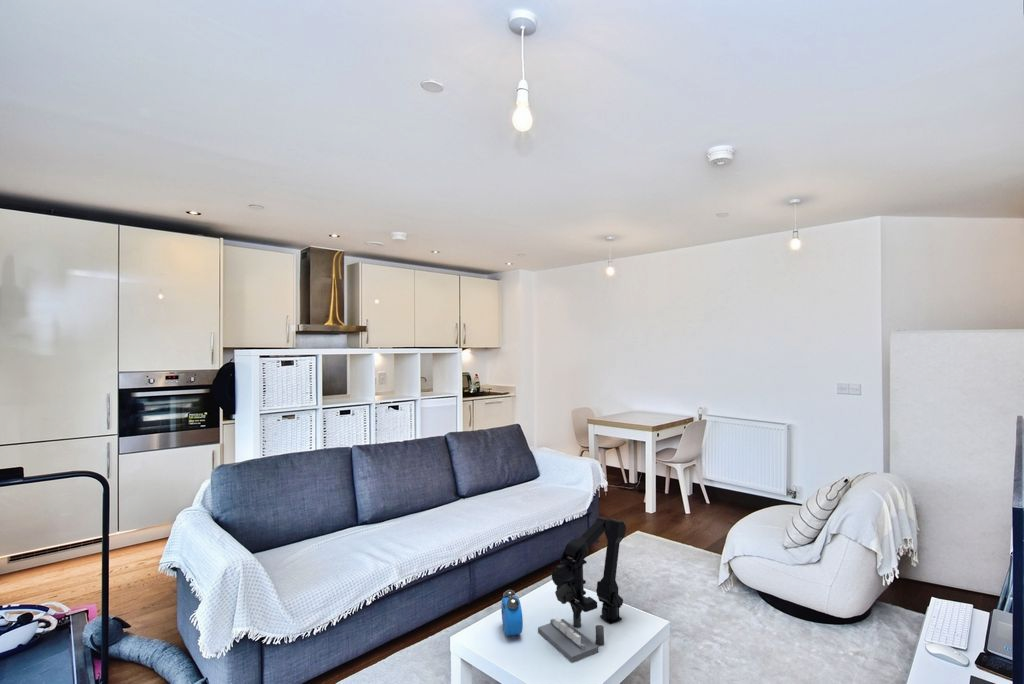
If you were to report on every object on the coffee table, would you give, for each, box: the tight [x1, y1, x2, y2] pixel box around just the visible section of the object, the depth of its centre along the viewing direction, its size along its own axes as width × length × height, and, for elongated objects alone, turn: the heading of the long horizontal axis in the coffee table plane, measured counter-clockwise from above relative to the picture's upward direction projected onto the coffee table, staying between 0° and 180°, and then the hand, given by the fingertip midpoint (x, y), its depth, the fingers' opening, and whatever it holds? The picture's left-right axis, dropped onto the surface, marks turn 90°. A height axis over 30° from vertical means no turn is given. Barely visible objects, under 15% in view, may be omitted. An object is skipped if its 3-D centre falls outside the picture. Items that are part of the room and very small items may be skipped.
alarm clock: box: [500, 589, 524, 637], centre depth 190 cm, size 13×6×15 cm, turn 12°
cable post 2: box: [595, 624, 605, 647], centre depth 182 cm, size 3×3×6 cm
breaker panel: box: [537, 618, 600, 664], centre depth 183 cm, size 12×22×4 cm, turn 30°
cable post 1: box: [572, 613, 582, 629], centre depth 194 cm, size 3×3×6 cm
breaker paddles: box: [552, 617, 581, 648], centre depth 183 cm, size 1×18×3 cm, turn 30°
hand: (576, 618), depth 186 cm, fingers closed
